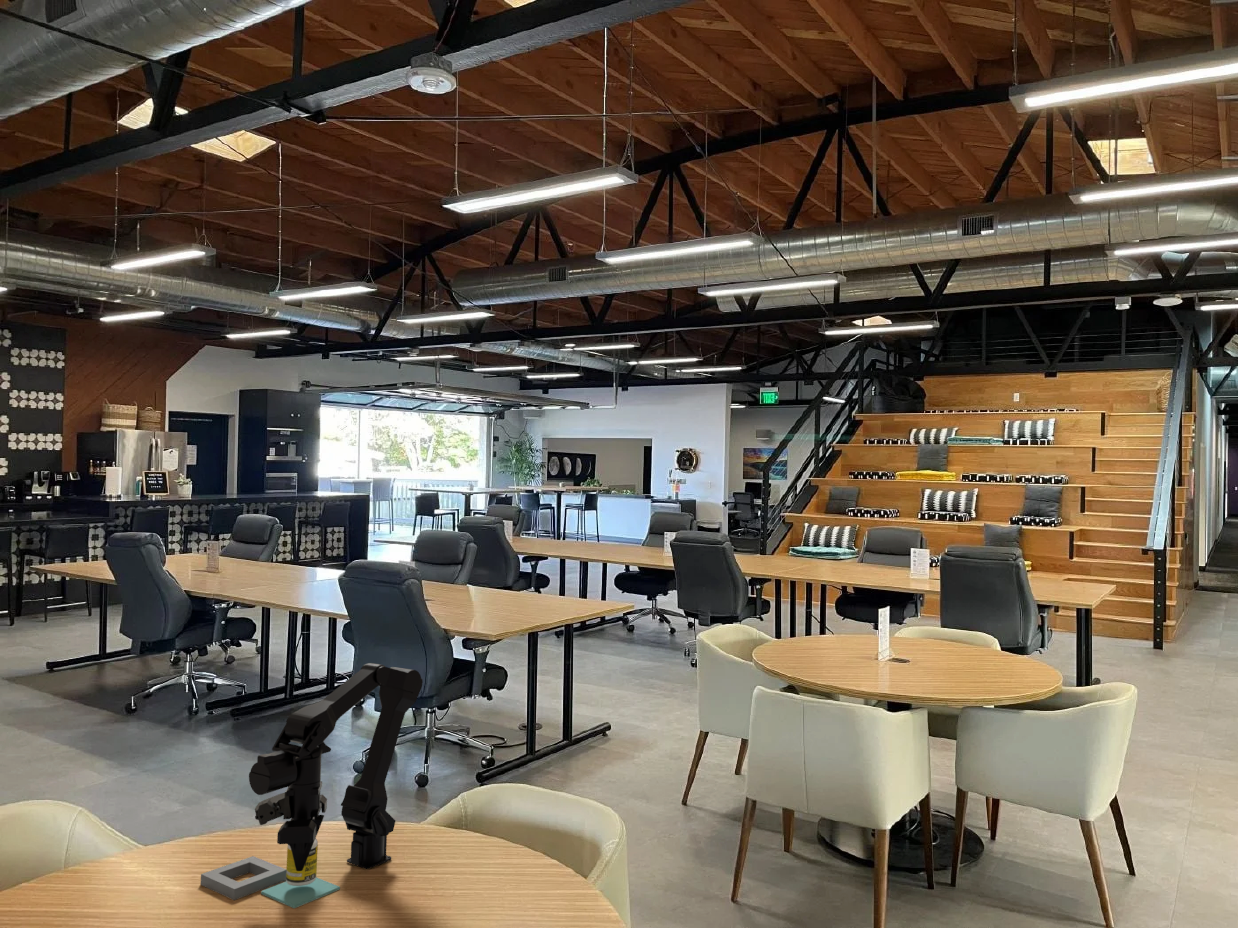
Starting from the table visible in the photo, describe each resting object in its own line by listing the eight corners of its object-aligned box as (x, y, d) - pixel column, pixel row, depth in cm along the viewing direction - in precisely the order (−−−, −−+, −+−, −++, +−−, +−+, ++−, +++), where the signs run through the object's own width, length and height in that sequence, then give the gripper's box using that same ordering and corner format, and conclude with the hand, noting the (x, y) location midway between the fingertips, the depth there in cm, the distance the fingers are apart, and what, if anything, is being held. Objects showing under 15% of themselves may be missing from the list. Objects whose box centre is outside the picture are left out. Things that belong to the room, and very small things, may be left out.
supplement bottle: (306, 888, 164) (308, 834, 165) (280, 885, 165) (281, 831, 166) (322, 876, 170) (323, 823, 170) (296, 873, 171) (298, 821, 171)
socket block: (252, 865, 179) (253, 855, 179) (286, 879, 172) (286, 869, 172) (200, 884, 169) (200, 873, 170) (234, 900, 163) (234, 888, 163)
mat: (306, 875, 174) (306, 873, 174) (339, 889, 169) (339, 886, 169) (261, 893, 166) (261, 890, 166) (294, 908, 160) (294, 905, 160)
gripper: (269, 767, 176) (267, 847, 175) (248, 798, 158) (245, 888, 157) (328, 765, 178) (326, 844, 177) (314, 795, 160) (311, 884, 159)
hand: (302, 864), depth 168 cm, fingers closed on supplement bottle, 5 cm apart
